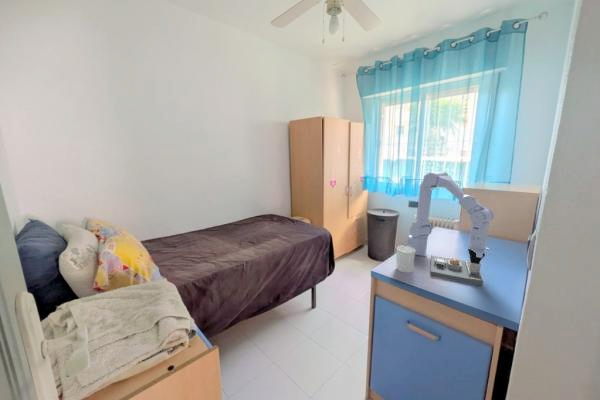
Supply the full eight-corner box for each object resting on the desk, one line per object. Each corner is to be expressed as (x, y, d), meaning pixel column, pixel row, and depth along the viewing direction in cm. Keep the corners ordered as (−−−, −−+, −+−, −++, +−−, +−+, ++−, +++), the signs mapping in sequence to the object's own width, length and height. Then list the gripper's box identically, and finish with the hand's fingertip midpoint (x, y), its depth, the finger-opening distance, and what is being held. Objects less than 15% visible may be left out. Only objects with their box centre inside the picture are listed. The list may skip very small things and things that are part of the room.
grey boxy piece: (469, 273, 104) (470, 263, 103) (468, 270, 106) (469, 261, 105) (479, 275, 102) (481, 265, 101) (478, 272, 104) (480, 262, 103)
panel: (430, 275, 107) (431, 267, 106) (430, 259, 122) (431, 251, 122) (482, 286, 98) (483, 277, 97) (475, 267, 114) (476, 259, 113)
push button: (450, 266, 109) (451, 260, 109) (450, 263, 112) (450, 257, 111) (458, 268, 108) (459, 261, 107) (457, 265, 110) (458, 259, 110)
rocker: (436, 263, 110) (437, 261, 110) (436, 260, 116) (436, 258, 115) (444, 264, 109) (444, 262, 109) (443, 261, 114) (443, 259, 114)
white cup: (405, 275, 107) (407, 254, 105) (391, 267, 114) (392, 247, 112) (417, 270, 111) (419, 250, 109) (403, 263, 118) (404, 244, 116)
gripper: (494, 244, 94) (488, 276, 97) (486, 233, 107) (482, 261, 110) (472, 241, 97) (467, 272, 100) (467, 230, 110) (463, 258, 113)
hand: (474, 266), depth 105 cm, fingers closed
